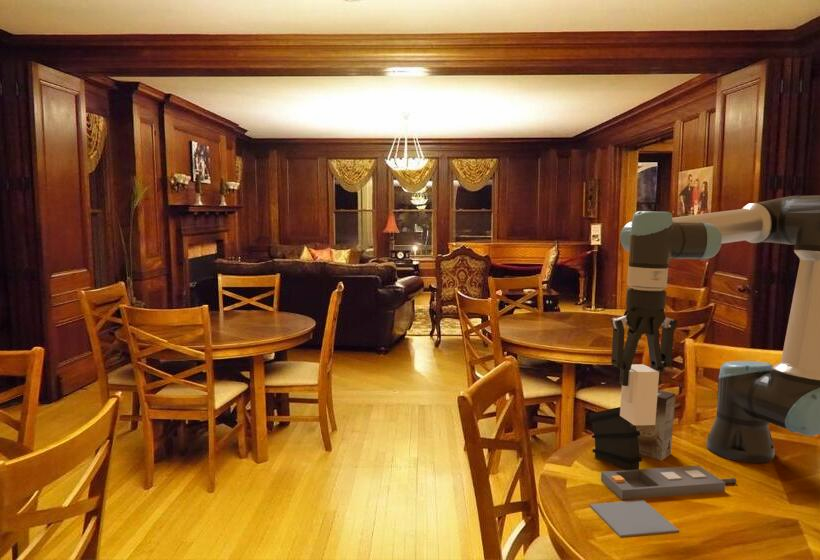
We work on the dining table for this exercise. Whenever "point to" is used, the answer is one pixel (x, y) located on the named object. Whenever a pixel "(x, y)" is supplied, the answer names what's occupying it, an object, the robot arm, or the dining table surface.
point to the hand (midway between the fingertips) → (638, 400)
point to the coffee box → (658, 429)
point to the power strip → (663, 482)
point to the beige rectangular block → (642, 396)
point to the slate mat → (633, 518)
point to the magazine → (615, 439)
